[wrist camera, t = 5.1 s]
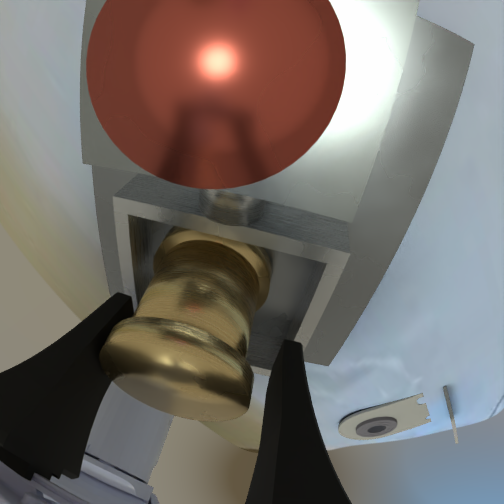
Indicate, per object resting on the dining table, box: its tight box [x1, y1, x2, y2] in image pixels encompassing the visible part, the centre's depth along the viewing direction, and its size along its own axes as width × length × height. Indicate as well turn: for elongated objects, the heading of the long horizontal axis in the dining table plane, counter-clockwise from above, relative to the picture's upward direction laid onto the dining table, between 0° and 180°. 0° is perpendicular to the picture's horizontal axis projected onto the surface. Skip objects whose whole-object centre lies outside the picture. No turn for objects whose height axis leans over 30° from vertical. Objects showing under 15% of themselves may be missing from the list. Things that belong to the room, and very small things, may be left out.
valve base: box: [80, 0, 474, 376], centre depth 10 cm, size 18×13×7 cm
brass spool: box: [99, 226, 272, 421], centre depth 11 cm, size 5×5×6 cm
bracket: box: [338, 386, 458, 444], centre depth 20 cm, size 7×10×4 cm, turn 125°
